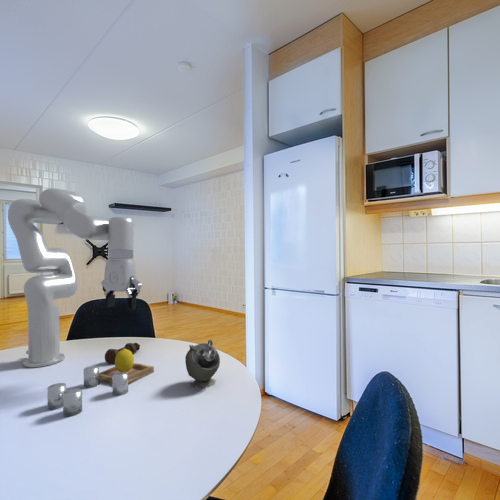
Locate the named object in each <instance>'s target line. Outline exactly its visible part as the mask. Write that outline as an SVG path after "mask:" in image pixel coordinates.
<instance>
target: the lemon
mask: <svg viewBox="0 0 500 500" xmlns="http://www.w3.org/2000/svg"><path fill="white" fill-rule="evenodd" d="M133 363H135V361H134V355H133V354H132V352H131V351H129V350H127V349H125V348H124V349H123V350H121V351H119V352H118V353H117V355H116V358H115V364H114V367H116V369H117V370H118V371H119V372H127V371H129V370H130V369H131V368H132V366H133Z"/></svg>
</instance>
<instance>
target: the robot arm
mask: <svg viewBox="0 0 500 500" xmlns="http://www.w3.org/2000/svg"><path fill="white" fill-rule="evenodd" d="M38 198H39V199H37V200H36V199H29V198H22V199H21V198H20V199H16V200H13V201H12V202H11V203H10V205H9V206H8V210H7V220H8V224H9V226H10V229H11V231H12V233H13V235H14V237H15V239H16V242H17V246H18V247H17V248H18V251H19V255H20V259H21V263H22V266H23V268H24V270H25V272H28V273H31V274H39V273H40V275H35V276H31V277H30V278H28V279H27V280H26V281H25V282H24V285H23V292H24V293H23V294H24V297H25V298H24V299H25V302H26V307H27V349H28V350H26V351H25V354H27V355H28V356H27V358H26V359H25V360H24V361H22V366H23V367H25V368H41V367H45V366H46V367H47V366H50V365H54V364H57V363H60V362H61V361H63V360H64V359H65V356H66V355H65V354H64V353H62V352H60V311H59V308H58V306H57V305H56V303H54V300H55V301H56V300H60V299H67V298H70V297H72V296H74V295H75V294H76V293H77V290H78V281H77V276H76V274H75V273H76V272H75V270H74V266H73V261H72V258H71V256H70V254H69V253H68V251H67V250H65V249H64V248H61V247H49V246H47V243H46V239H45V235H44V234H43V232H42V231H41V229H39V228H38V227H37V226H36V225H35V224H46V225H59V224H62V223H63V226H64V228H65V229H66V230H67V231H68V232H70V233H71V234H73V235H74V236H76V237H77V238H80V239H83V240H89V241H90V240H91V241H93V240H94V241H108V242H107V260H106V263H105V267H104V276H103V277H104V278H103V280H101V281H100V283H101V286H102V291H103V292H104V293H103V294H104V296H105V308H107V309H109V308H113V307H115V306H116V294H115V293H116V292H119V293H121V292H122V293H123V292H125V294H127V297H126V310H127V311H132V310H137V297H138V296H139V293H140V292H141V289H142V286H143V285H142V283H141V282H140V281H139V280H138V279H137V274H136V273H137V271H136V264H135V260H134V221H133V219H132V218H131V217H127V216H126V217H125V216H112V217H109V218H108V217H102V216H101V217H100V216H93V215H92V216H91V215H87V213H88V212H87V211H88V210H87V207H86V205H85V200H84V198H83V196H81V195H80V194H79V193H77V192H74V191H69V190H64V189H59V188H47V189H45V190H44V189H43V191H41V192H40V194H39V197H38ZM42 273H44V274H42ZM45 273H49V274H45ZM50 273H53V274H50Z"/></svg>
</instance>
